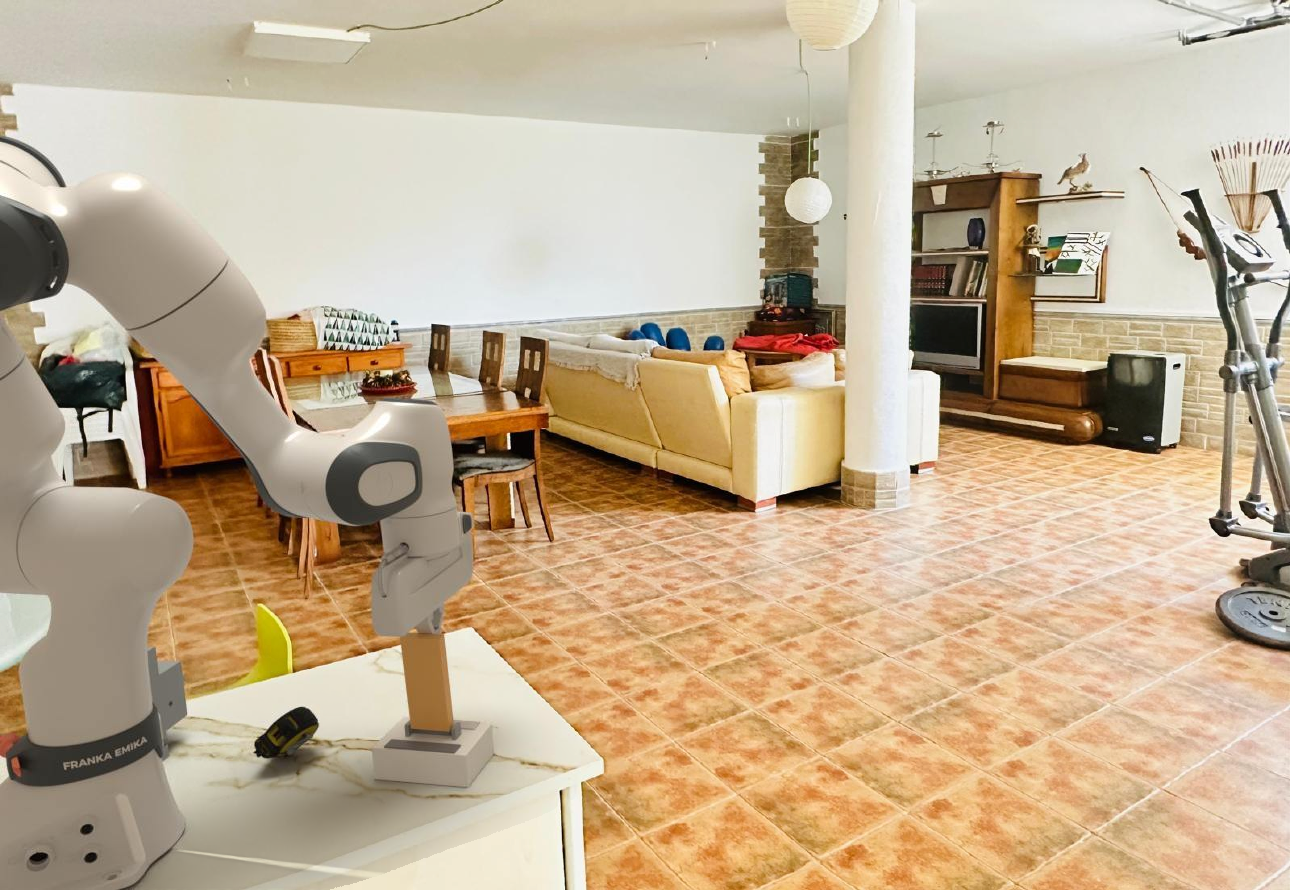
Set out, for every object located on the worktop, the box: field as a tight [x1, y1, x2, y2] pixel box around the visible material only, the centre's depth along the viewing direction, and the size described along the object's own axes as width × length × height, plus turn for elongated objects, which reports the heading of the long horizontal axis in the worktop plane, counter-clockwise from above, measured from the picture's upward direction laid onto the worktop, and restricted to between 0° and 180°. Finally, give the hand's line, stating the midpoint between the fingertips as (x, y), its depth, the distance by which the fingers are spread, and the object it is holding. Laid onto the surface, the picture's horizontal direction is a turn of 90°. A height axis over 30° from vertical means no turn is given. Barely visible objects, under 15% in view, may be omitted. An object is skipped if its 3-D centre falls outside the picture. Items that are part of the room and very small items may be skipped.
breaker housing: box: [371, 716, 495, 788], centre depth 107 cm, size 8×12×6 cm, turn 78°
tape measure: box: [253, 706, 320, 760], centre depth 109 cm, size 7×7×4 cm
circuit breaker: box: [147, 646, 188, 762], centre depth 110 cm, size 8×14×15 cm, turn 174°
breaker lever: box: [399, 632, 455, 736], centre depth 105 cm, size 1×5×13 cm, turn 78°
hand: (431, 643), depth 106 cm, fingers closed
